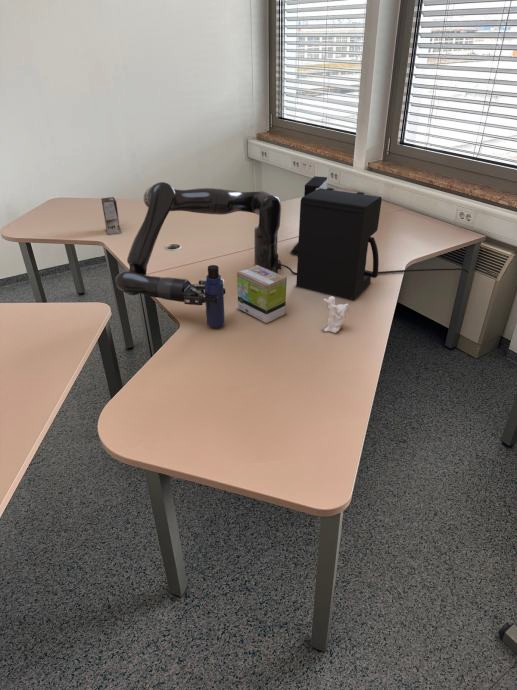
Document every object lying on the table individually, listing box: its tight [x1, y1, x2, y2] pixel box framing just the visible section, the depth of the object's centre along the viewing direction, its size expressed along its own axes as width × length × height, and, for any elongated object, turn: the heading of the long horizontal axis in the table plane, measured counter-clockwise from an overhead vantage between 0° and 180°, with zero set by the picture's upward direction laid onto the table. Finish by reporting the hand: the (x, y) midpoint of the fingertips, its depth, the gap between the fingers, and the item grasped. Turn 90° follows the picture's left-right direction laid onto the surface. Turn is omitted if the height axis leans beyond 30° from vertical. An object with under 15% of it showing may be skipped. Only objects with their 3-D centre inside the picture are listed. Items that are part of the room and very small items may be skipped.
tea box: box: [236, 265, 288, 324], centre depth 169 cm, size 15×10×15 cm
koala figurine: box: [323, 295, 350, 334], centre depth 159 cm, size 8×7×12 cm
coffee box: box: [100, 196, 121, 235], centre depth 244 cm, size 9×6×16 cm
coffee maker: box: [295, 187, 383, 301], centre depth 183 cm, size 28×20×35 cm
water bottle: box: [204, 264, 225, 328], centre depth 158 cm, size 6×6×20 cm
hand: (221, 295), depth 157 cm, fingers closed on water bottle, 6 cm apart
